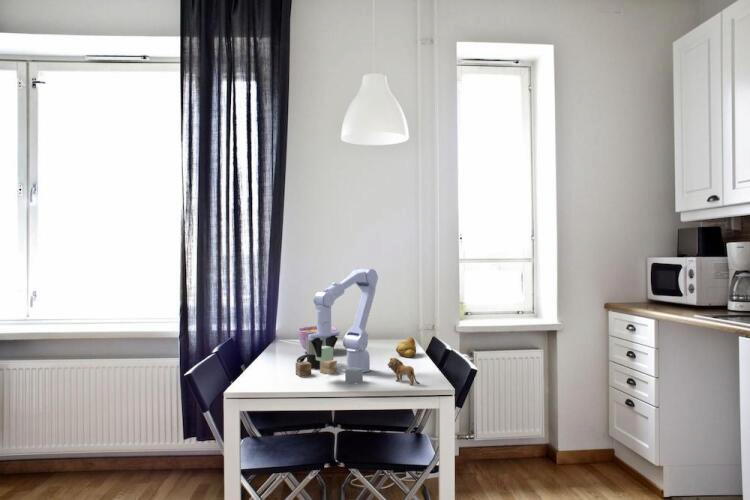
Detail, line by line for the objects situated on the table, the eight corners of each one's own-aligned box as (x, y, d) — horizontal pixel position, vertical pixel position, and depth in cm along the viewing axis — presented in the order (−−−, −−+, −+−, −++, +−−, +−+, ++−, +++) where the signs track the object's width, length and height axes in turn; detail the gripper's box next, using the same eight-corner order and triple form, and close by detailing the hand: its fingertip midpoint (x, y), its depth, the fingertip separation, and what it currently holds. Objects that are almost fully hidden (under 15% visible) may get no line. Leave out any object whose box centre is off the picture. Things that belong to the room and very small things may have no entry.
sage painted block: (325, 358, 211) (325, 345, 211) (333, 359, 208) (333, 347, 208) (315, 359, 208) (315, 347, 208) (323, 361, 204) (323, 349, 204)
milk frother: (323, 369, 225) (322, 335, 225) (288, 368, 228) (288, 334, 228) (332, 362, 239) (332, 330, 239) (300, 361, 242) (299, 329, 242)
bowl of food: (292, 350, 269) (292, 327, 269) (329, 346, 277) (329, 325, 277) (304, 357, 251) (304, 333, 251) (342, 353, 259) (342, 330, 259)
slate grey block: (351, 379, 208) (351, 367, 208) (362, 381, 206) (362, 368, 205) (345, 382, 203) (345, 369, 203) (356, 384, 201) (356, 371, 201)
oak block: (328, 370, 223) (328, 359, 223) (336, 372, 220) (336, 360, 220) (320, 373, 219) (320, 361, 219) (328, 374, 216) (328, 362, 216)
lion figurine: (385, 380, 205) (385, 358, 205) (393, 378, 210) (393, 355, 210) (415, 386, 196) (415, 363, 196) (424, 384, 200) (423, 360, 200)
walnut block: (307, 373, 219) (306, 361, 219) (311, 375, 215) (311, 363, 215) (295, 374, 217) (295, 362, 217) (299, 377, 212) (299, 365, 212)
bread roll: (418, 358, 246) (418, 341, 246) (397, 358, 246) (397, 341, 246) (414, 352, 259) (414, 336, 259) (395, 353, 259) (395, 337, 259)
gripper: (332, 319, 215) (332, 351, 216) (303, 322, 206) (303, 357, 206) (343, 320, 210) (343, 354, 210) (313, 324, 200) (314, 359, 201)
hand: (324, 356), depth 208 cm, fingers closed on sage painted block, 5 cm apart
